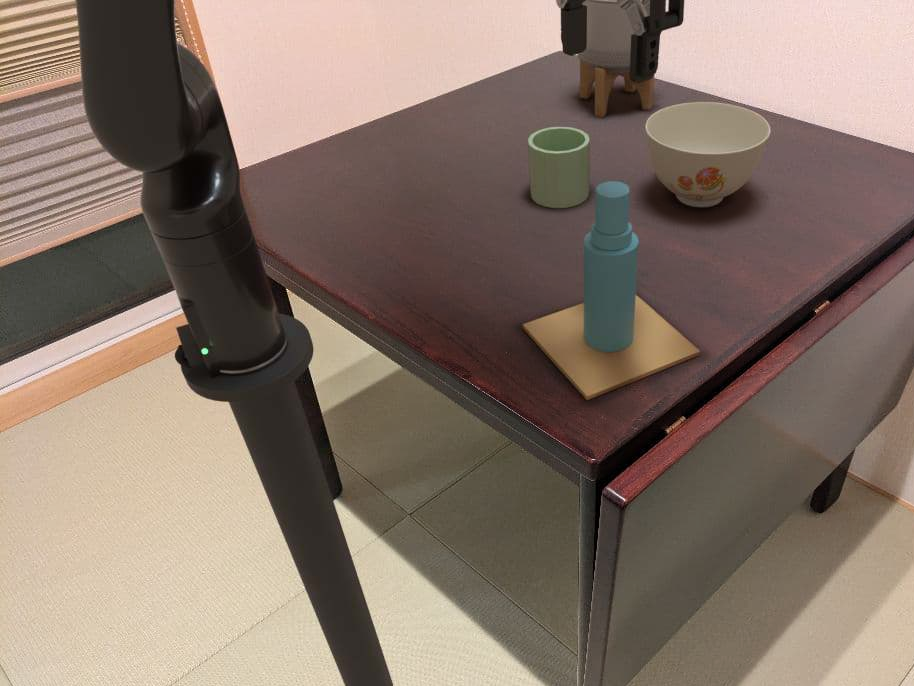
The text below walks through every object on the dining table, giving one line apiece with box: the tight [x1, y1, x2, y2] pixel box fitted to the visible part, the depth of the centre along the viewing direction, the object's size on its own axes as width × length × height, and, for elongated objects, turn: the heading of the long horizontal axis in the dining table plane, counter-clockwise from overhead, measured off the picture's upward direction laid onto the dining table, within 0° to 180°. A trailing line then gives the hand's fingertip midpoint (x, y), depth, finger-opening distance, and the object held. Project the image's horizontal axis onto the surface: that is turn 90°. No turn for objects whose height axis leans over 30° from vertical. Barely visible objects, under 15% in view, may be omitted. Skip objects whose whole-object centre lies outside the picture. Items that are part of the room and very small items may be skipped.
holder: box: [527, 126, 591, 209], centre depth 109 cm, size 8×8×8 cm
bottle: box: [583, 180, 640, 352], centre depth 80 cm, size 5×5×18 cm
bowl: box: [644, 101, 772, 208], centre depth 106 cm, size 16×16×10 cm
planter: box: [577, 0, 656, 118], centre depth 128 cm, size 13×13×18 cm
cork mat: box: [522, 294, 701, 401], centre depth 86 cm, size 14×14×1 cm
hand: (607, 66), depth 67 cm, fingers open, 8 cm apart
